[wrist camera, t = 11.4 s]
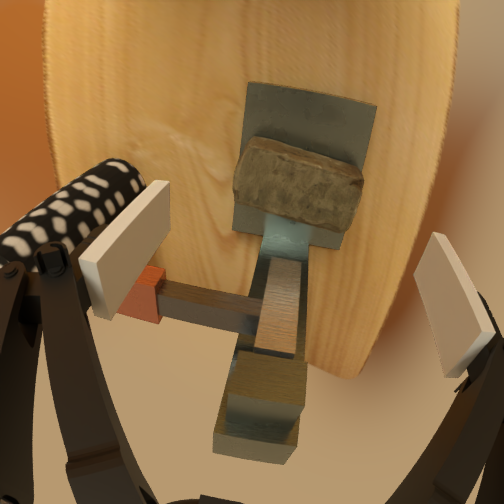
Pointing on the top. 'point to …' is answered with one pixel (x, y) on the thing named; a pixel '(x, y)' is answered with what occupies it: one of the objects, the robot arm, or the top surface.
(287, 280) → the hammer
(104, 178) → the white-spotted black cylinder
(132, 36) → the top surface
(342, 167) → the stone block
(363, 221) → the top surface
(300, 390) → the press
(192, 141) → the top surface
